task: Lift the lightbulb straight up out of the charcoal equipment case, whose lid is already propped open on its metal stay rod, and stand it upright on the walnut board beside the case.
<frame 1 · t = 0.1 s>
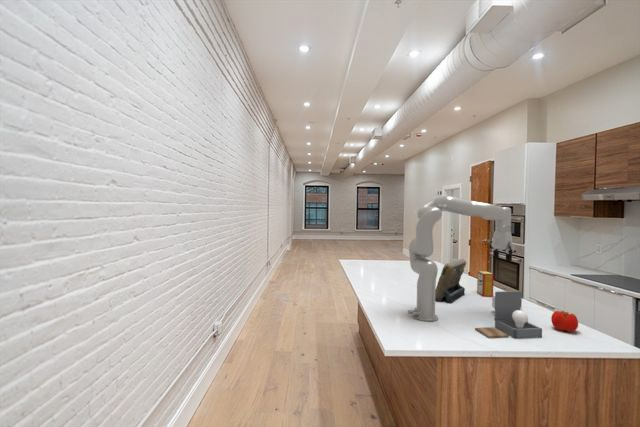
hand: (502, 259, 175), 31 cm above the table, tool pointing down, fingers open, 9 cm apart
security camera: (498, 315, 176), on the table
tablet: (449, 297, 210), on the table
equipment case: (517, 332, 151), on the table
baking soda box: (484, 295, 217), on the table
walnut board: (491, 333, 149), on the table
tomato: (564, 330, 155), on the table
lightbulb: (519, 333, 150), resting in equipment case
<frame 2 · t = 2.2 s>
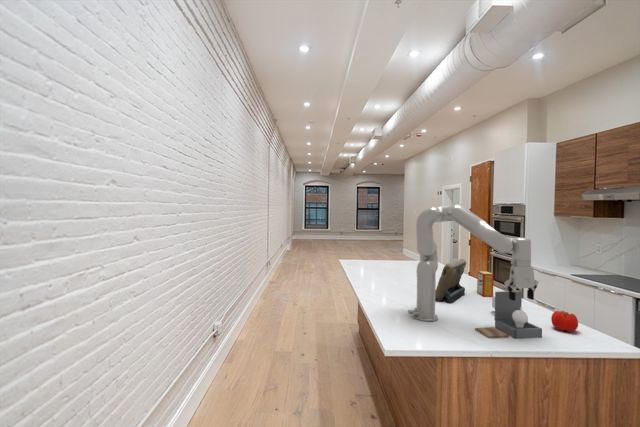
hand: (521, 299, 149), 16 cm above the table, tool pointing down, fingers open, 9 cm apart
nothing on the table moved.
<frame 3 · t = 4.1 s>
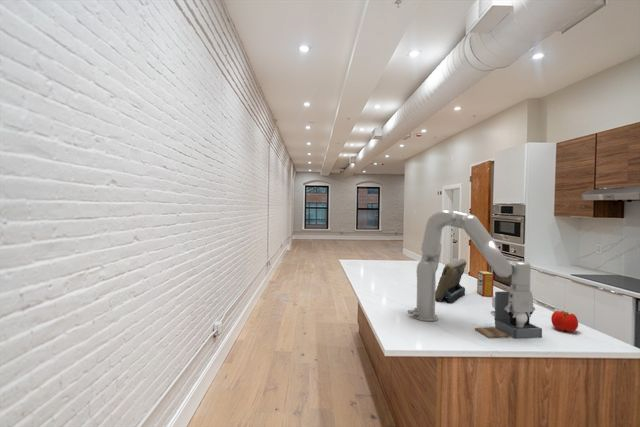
hand: (519, 324, 150), 4 cm above the table, tool pointing down, fingers closed on lightbulb, 6 cm apart
lightbulb: (519, 333, 150), resting in equipment case, touching gripper
everything else where it was.
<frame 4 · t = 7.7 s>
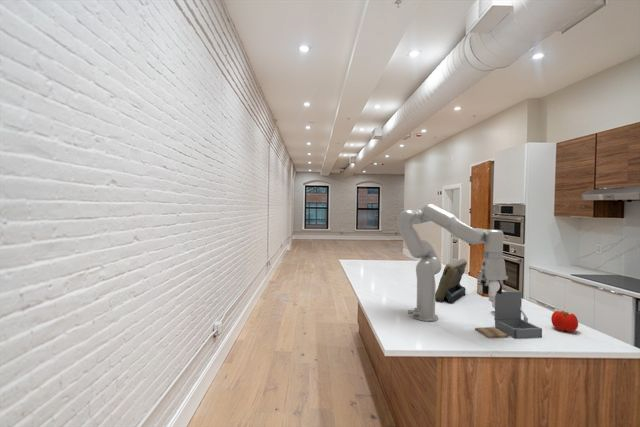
hand: (492, 293, 149), 19 cm above the table, tool pointing down, fingers closed on lightbulb, 6 cm apart
lightbulb: (491, 302, 149), point 15 cm above the table, touching gripper
everything else where it was.
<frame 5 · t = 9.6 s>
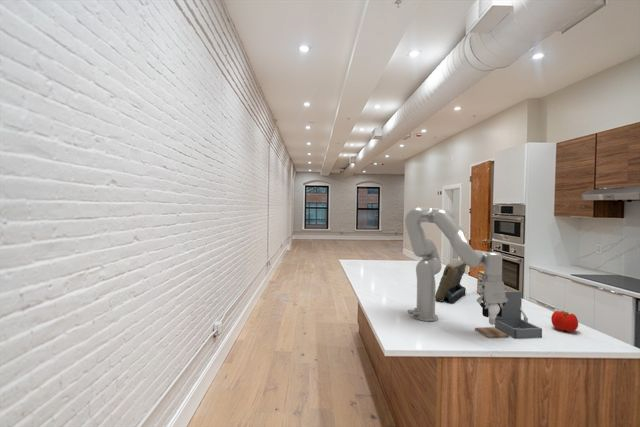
hand: (492, 315, 149), 9 cm above the table, tool pointing down, fingers closed on lightbulb, 6 cm apart
lightbulb: (491, 324, 149), point 4 cm above the table, touching gripper
everything else where it was.
when the fingers open (6 cm above the table, at t = 11.1 s): lightbulb stays where it is, resting on walnut board.
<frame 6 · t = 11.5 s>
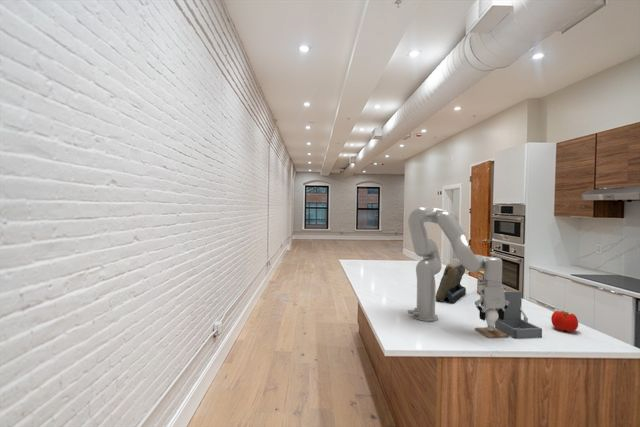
hand: (491, 319, 149), 7 cm above the table, tool pointing down, fingers open, 9 cm apart
lightbulb: (490, 331, 149), point 1 cm above the table, touching walnut board
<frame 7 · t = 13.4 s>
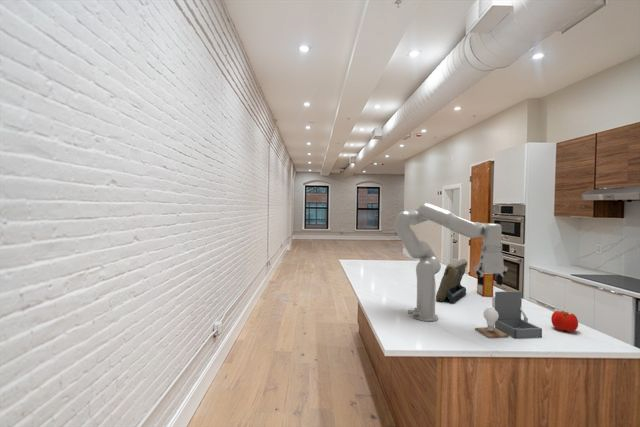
hand: (489, 284, 150), 23 cm above the table, tool pointing down, fingers open, 9 cm apart
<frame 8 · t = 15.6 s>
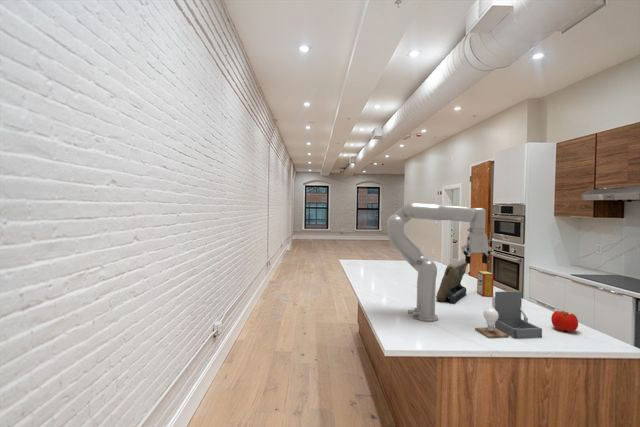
hand: (476, 263, 167), 30 cm above the table, tool pointing down, fingers open, 9 cm apart
at the end: lightbulb inside the target area on the walnut board (0.3 cm from its centre), point 0.8 cm above the walnut board's base; lightbulb tilted 0°; the gripper is holding nothing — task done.
